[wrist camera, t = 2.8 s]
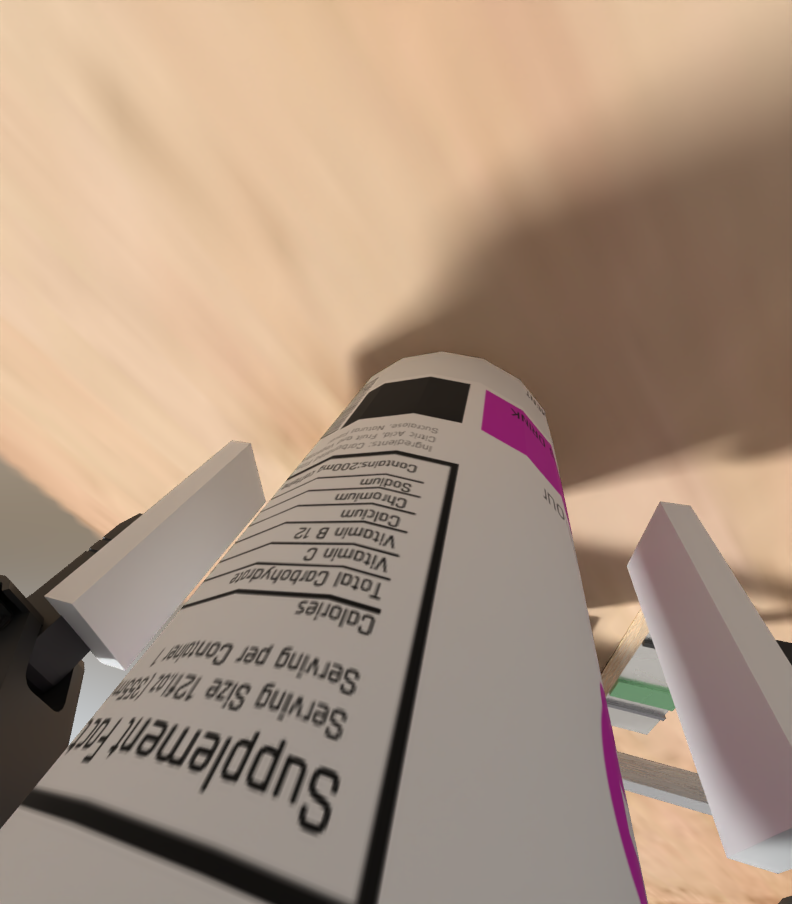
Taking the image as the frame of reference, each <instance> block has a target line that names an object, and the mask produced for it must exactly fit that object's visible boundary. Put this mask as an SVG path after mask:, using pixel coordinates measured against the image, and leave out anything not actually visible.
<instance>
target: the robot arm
mask: <svg viewBox="0 0 792 904" xmlns="http://www.w3.org/2000/svg"><path fill="white" fill-rule="evenodd" d="M265 502H266V501H265V497H264V493H263V489H262V485H261V481H260V478H259V474H258V470H257V466H256V462H255V458H254V454H253V450H252V447H251V443H246V442H239V441H231V442H229V443H228V444H227V445H226V446H225V447H223V448H222V449H221V450H220V451H219V452H217V453H216V454H215V455H214V456H213V457H211V458H210V459H209V460H208V461H207V462H205V463H204V464H203V465H202V466H200V467H199V468H198V469H197V470H196V471H194V472H193V473H192V474H191V475H190V476H188V477H187V478H186V479H185V480H184V481H182V482H181V483H180V484H179V485H178V486H176V487H175V488H174V489H173V490H172V491H170V492H169V493H168V494H167V495H165V496H164V497H163V498H162V499H161V500H159V501H158V502H157V503H156V504H155V505H153V506H152V507H151V508H150V509H149V510H147V511H146V512H145V513H144V514H140V513H139V514H138V515H136V516H134V517H132V518H130V519H128V520H126V521H124V522H122V523H120V524H119V525H118V526H116V527H115V528H114V529H113V530H111V531H110V532H109V533H108V534H106V535H105V536H104V537H103V539H102V540H99V541H98V542H97V543H95V544H94V545H93V546H92V547H90V549H89V551H88V552H87V551H85V552H84V553H83V554H82V555H80V556H79V557H78V558H77V559H75V560H74V561H73V562H72V563H71V564H69V565H68V566H67V567H65V568H64V569H63V570H62V571H60V572H59V573H58V574H57V575H55V576H54V577H53V578H52V579H50V580H49V581H48V582H47V583H45V584H44V585H43V586H42V587H40V588H39V589H38V590H37V591H36V592H34V593H33V594H31V595H30V596H29V597H27V598H25V596H24V595H23V594H22V593H21V592H20V591H19V590H18V589H17V588H16V587H15V585H14V584H13V583H12V582H11V581H10V580H9V579H8V578H7V577H6V576H3V575H0V829H1V828H2V827H3V825H4V824H5V823H6V822H7V820H8V819H9V818H10V817H11V816H12V814H13V813H14V812H15V811H16V809H17V808H18V807H19V806H20V805H21V803H22V802H23V801H24V800H25V798H26V797H27V796H28V795H29V794H30V792H31V791H32V790H33V789H34V788H35V786H36V785H37V784H38V783H39V781H40V780H41V779H42V778H43V777H44V775H45V774H46V773H47V772H48V770H49V769H50V768H51V767H52V766H53V764H54V763H55V762H56V761H57V759H58V758H59V757H60V756H61V755H62V753H63V752H64V751H65V750H66V749H67V747H68V745H69V740H70V735H71V731H72V726H73V721H74V717H75V712H76V707H77V703H78V698H79V694H80V689H81V684H82V680H83V675H84V662H83V661H82V659H83V657H84V656H85V655H86V654H87V653H88V652H89V651H91V652H92V653H93V654H94V655H95V657H96V658H97V659H98V660H99V661H100V662H101V663H103V664H106V665H110V666H112V667H115V668H119V669H122V670H126V669H127V668H128V667H129V666H130V664H131V663H132V662H133V661H134V660H135V658H136V657H137V656H138V655H139V654H140V652H141V651H142V650H143V649H144V648H145V646H146V645H147V644H148V643H149V641H150V640H151V639H152V638H153V637H154V636H155V634H156V633H157V632H158V631H159V630H160V628H161V627H162V626H163V625H164V623H165V622H166V621H167V620H168V619H169V617H170V616H171V615H172V614H173V613H174V611H175V610H176V609H177V608H178V607H179V605H180V604H181V603H182V602H183V601H184V599H185V598H186V597H187V596H188V595H189V593H190V592H191V591H192V590H193V589H194V587H195V586H196V585H197V584H198V583H199V581H200V580H201V579H202V578H203V577H204V575H205V574H206V573H207V572H208V571H209V569H210V568H211V567H212V566H213V565H214V563H215V562H216V561H217V560H218V559H219V557H220V556H221V555H222V554H223V553H224V551H225V550H226V549H227V548H228V547H229V545H230V544H231V543H232V542H233V541H234V539H235V538H236V537H237V536H238V535H239V533H240V532H241V531H242V530H243V529H244V527H245V526H246V525H247V524H248V523H249V521H250V520H251V519H252V518H253V517H254V515H255V514H256V513H257V512H258V511H259V509H260V508H261V507H262V506H263V505H264V503H265ZM627 568H628V571H629V574H630V577H631V580H632V583H633V586H634V589H635V591H636V594H637V597H638V600H639V603H640V606H641V609H642V612H643V615H644V618H645V621H646V623H647V626H648V629H649V632H650V635H651V638H652V641H653V644H654V647H655V650H656V653H657V655H658V658H659V661H660V664H661V667H662V670H663V673H664V676H665V679H666V682H667V685H668V687H669V690H670V693H671V696H672V699H673V702H674V705H675V708H676V711H677V714H678V717H679V719H680V722H681V725H682V728H683V731H684V734H685V737H686V740H687V743H688V746H689V749H690V752H691V754H692V757H693V760H694V763H695V766H696V769H697V772H698V775H699V778H700V781H701V784H702V786H703V789H704V792H705V795H706V798H707V801H708V804H709V807H710V810H711V813H712V816H713V818H714V821H715V824H716V827H717V830H718V833H719V836H720V839H721V842H722V845H723V848H724V850H725V853H726V856H727V858H729V859H732V860H736V861H739V862H742V863H745V864H748V865H752V866H755V867H758V868H761V869H764V870H768V871H771V872H774V873H777V874H779V873H781V872H784V871H787V870H790V869H792V643H788V642H783V641H778V640H775V638H774V637H773V635H772V634H771V632H770V631H769V629H768V627H767V626H766V624H765V623H764V621H763V620H762V618H761V616H760V615H759V613H758V612H757V610H756V608H755V607H754V605H753V604H752V602H751V601H750V599H749V597H748V596H747V594H746V593H745V591H744V589H743V588H742V586H741V585H740V583H739V582H738V580H737V578H736V577H735V575H734V574H733V572H732V571H731V569H730V567H729V566H728V564H727V563H726V561H725V559H724V558H723V556H722V555H721V553H720V552H719V550H718V548H717V547H716V545H715V544H714V542H713V541H712V539H711V537H710V536H709V534H708V533H707V531H706V529H705V528H704V526H703V525H702V523H701V522H700V520H699V518H698V517H697V515H696V514H695V512H694V510H693V509H692V507H691V506H689V505H682V504H675V503H667V502H659V504H658V506H657V508H656V510H655V512H654V514H653V516H652V518H651V520H650V522H649V524H648V526H647V528H646V530H645V531H644V533H643V535H642V537H641V539H640V541H639V543H638V545H637V547H636V549H635V551H634V553H633V555H632V557H631V559H630V561H629V563H628V565H627ZM778 904H792V896H790V897H786V898H783V899H782V900H781V901H780V902H779V903H778Z"/></svg>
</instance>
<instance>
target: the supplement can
mask: <svg viewBox="0 0 792 904" xmlns="http://www.w3.org/2000/svg"><path fill="white" fill-rule="evenodd" d="M0 904H648V901H647V896H646V891H645V886H644V881H643V877H642V872H641V867H640V862H639V857H638V852H637V847H636V843H635V838H634V833H633V828H632V823H631V818H630V814H629V809H628V804H627V799H626V794H625V789H624V784H623V780H622V775H621V770H620V765H619V760H618V755H617V750H616V746H615V741H614V736H613V731H612V726H611V721H610V717H609V712H608V707H607V702H606V697H605V692H604V687H603V683H602V678H601V673H600V668H599V663H598V658H597V653H596V649H595V644H594V639H593V634H592V629H591V624H590V620H589V615H588V610H587V605H586V600H585V595H584V590H583V586H582V581H581V576H580V571H579V566H578V561H577V556H576V552H575V547H574V542H573V537H572V532H571V527H570V523H569V518H568V513H567V508H566V503H565V498H564V493H563V489H562V484H561V479H560V474H559V469H558V464H557V459H556V455H555V450H554V445H553V441H552V437H551V433H550V430H549V426H548V422H547V418H546V415H545V411H544V409H543V408H542V407H541V405H540V404H539V403H538V402H537V400H536V399H535V398H534V397H533V395H532V394H531V393H530V392H529V390H528V389H527V388H526V387H525V385H524V384H523V383H522V382H521V380H519V379H518V378H516V377H514V376H512V375H511V374H509V373H507V372H506V371H504V370H502V369H500V368H499V367H497V366H495V365H493V364H492V363H490V362H488V361H487V360H485V359H481V358H476V357H470V356H465V355H459V354H454V353H448V352H436V353H430V354H424V355H418V356H412V357H407V358H402V359H400V360H399V361H397V362H395V363H394V364H392V365H390V366H389V367H387V368H385V369H384V370H382V371H380V372H379V373H377V374H375V375H374V376H372V377H371V378H370V379H369V380H368V382H367V383H366V384H365V385H364V387H363V388H362V389H361V390H360V391H359V393H358V394H357V395H356V396H355V398H354V399H353V400H352V401H351V402H350V404H349V405H348V406H347V407H346V408H345V410H344V411H343V412H342V413H341V415H340V416H339V417H338V418H337V419H336V421H335V422H334V423H333V424H332V426H331V427H330V428H329V429H328V430H327V432H326V433H325V434H324V435H323V437H322V438H321V439H320V440H319V441H318V443H317V444H316V445H315V446H314V447H313V449H312V450H311V451H310V452H309V454H308V455H307V456H306V457H305V458H304V460H303V461H302V462H301V463H300V465H299V466H298V467H297V468H296V469H295V471H294V472H293V473H292V474H291V476H290V477H289V478H288V479H287V480H286V482H285V483H284V484H283V485H282V486H281V488H280V489H279V490H278V491H277V493H276V494H275V495H274V496H273V497H272V499H271V500H270V501H269V502H268V504H267V505H266V506H265V507H264V508H263V510H262V511H261V512H260V513H259V515H258V516H257V517H256V518H255V519H254V521H253V522H252V523H251V524H250V525H249V527H248V528H247V529H246V530H245V532H244V533H243V534H242V535H241V536H240V538H239V539H238V540H237V541H236V543H235V544H234V545H233V546H232V547H231V549H230V550H229V551H228V552H227V554H226V555H225V556H224V557H223V558H222V560H221V561H220V562H219V563H218V564H217V566H216V567H215V568H214V569H213V571H212V572H211V573H210V574H209V575H208V577H207V578H206V579H205V580H204V582H203V583H202V584H201V585H200V586H199V588H198V589H197V590H196V591H195V593H194V594H193V595H192V596H191V597H190V599H189V600H188V601H187V602H186V603H185V605H184V606H183V607H182V608H181V610H180V611H179V612H178V613H177V615H176V616H175V617H174V618H173V619H172V621H171V622H170V623H169V624H168V625H167V627H166V628H165V629H164V630H163V632H162V633H161V634H160V635H159V636H158V638H157V639H156V640H155V641H154V643H153V644H152V645H151V646H150V648H149V649H148V650H147V651H146V652H145V654H144V655H143V656H142V657H141V658H140V660H139V661H138V662H137V663H136V665H135V666H134V667H133V668H132V669H131V671H130V672H129V673H128V674H127V675H126V677H125V678H124V679H123V680H122V682H121V683H120V684H119V685H118V686H117V688H116V689H115V690H114V691H113V693H112V694H111V695H110V696H109V697H108V699H107V700H106V701H105V702H104V704H103V705H102V706H101V707H100V708H99V710H98V711H97V712H96V713H95V714H94V716H93V717H92V718H91V719H90V721H89V722H88V723H87V724H86V725H85V727H84V728H83V729H82V730H81V731H80V733H79V734H78V735H77V736H76V738H75V739H74V740H73V741H72V742H71V744H70V745H69V746H68V747H67V749H66V750H65V751H64V752H63V753H62V755H61V756H60V757H59V758H58V759H57V761H56V762H55V763H54V764H53V766H52V767H51V768H50V769H49V770H48V772H47V773H46V774H45V775H44V777H43V778H42V779H41V780H40V781H39V783H38V784H37V785H36V786H35V788H34V789H33V790H32V791H31V792H30V794H29V795H28V796H27V797H26V798H25V800H24V801H23V802H22V803H21V805H20V806H19V807H18V808H17V809H16V811H15V812H14V813H13V814H12V816H11V817H10V818H9V819H8V820H7V822H6V823H5V824H4V825H3V827H2V828H1V829H0Z"/></svg>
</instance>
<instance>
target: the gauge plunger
mask: <svg viewBox="0 0 792 904" xmlns="http://www.w3.org/2000/svg"><path fill="white" fill-rule="evenodd" d="M617 755H618V760H619V765H620V770H621V775H622V780H623V784H624V789H625V790H627V791H630V792H634V793H637V794H640V795H644V796H647V797H651V798H654V799H658V800H661V801H664V802H668V803H671V804H675V805H678V806H681V807H685V808H688V809H692V810H695V811H699V812H702V813H705V814H709V815H712V813H711V810H710V807H709V804H708V801H707V798H706V795H705V792H704V789H703V786H702V784H701V781H700V778H699V775H698V773H694V772H690V771H687V770H683V769H679V768H676V767H672V766H668V765H665V764H661V763H658V762H654V761H650V760H647V759H643V758H639V757H636V756H632V755H628V754H625V753H621V752H617Z"/></svg>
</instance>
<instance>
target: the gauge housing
mask: <svg viewBox="0 0 792 904" xmlns="http://www.w3.org/2000/svg"><path fill="white" fill-rule="evenodd" d="M601 678H602V683H603V687H604V692H605V697H606V702H607V707H608V712H609V717H610V721H611V725H612V726H616V727H619V728H623V729H627V730H631V731H635V732H639V733H642V734H646V735H647V734H648V733H649V732H650V731H651V730H652V729H653V728H654V726H655V725H656V724H657V723H658V722H659V721H660V720H662V721H664V720H665V719H666V717H665V714H666V713H667V712H668V711H669V710H670V711H673V710H674V709H675V705H674V702H673V699H672V696H671V693H670V690H669V687H668V685H667V682H666V679H665V676H664V673H663V670H662V667H661V664H660V661H659V658H658V655H657V653H656V650H655V647H654V644H653V641H652V638H651V635H650V632H649V629H648V626H647V623H646V621H645V618H644V615H643V612H642V609H641V610H640V611H639V613H638V614H637V616H636V618H635V619H634V621H633V623H632V624H631V626H630V628H629V629H628V631H627V633H626V634H625V636H624V638H623V639H622V641H621V643H620V644H619V646H618V648H617V649H616V651H615V653H614V654H613V656H612V657H611V659H610V661H609V662H608V664H607V666H606V667H605V669H604V671H603V672H602V674H601Z"/></svg>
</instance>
